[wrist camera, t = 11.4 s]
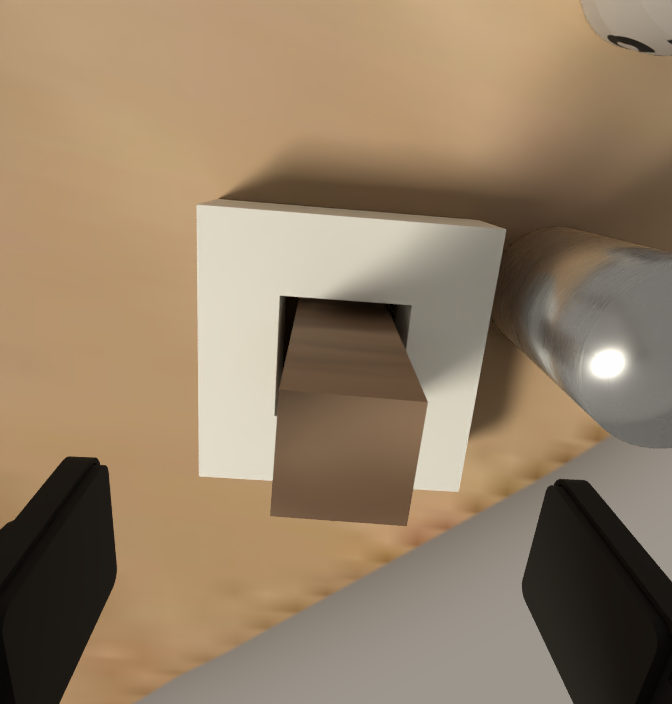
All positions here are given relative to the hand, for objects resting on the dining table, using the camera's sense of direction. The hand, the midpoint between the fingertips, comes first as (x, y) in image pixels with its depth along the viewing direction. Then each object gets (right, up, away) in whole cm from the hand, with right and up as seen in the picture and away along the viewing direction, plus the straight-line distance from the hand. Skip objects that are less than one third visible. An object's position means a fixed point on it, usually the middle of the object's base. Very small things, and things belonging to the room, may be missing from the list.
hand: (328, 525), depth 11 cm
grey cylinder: (+10, +7, +14) cm, 19 cm away
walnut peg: (0, +5, +15) cm, 15 cm away
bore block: (0, +5, +15) cm, 15 cm away
